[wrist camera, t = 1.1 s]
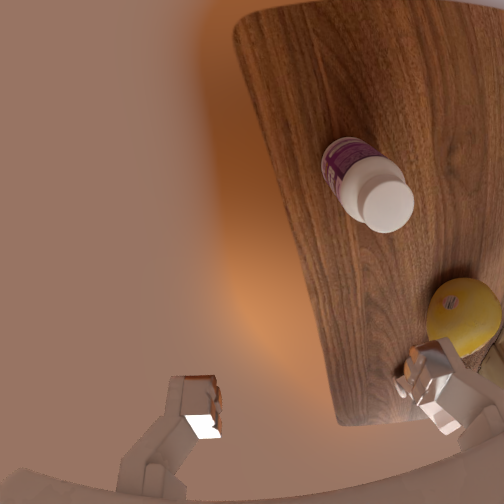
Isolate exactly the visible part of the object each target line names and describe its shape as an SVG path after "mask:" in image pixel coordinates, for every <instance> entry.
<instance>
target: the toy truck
mask: <svg viewBox="0 0 504 504" xmlns="http://www.w3.org/2000/svg"><path fill="white" fill-rule="evenodd" d="M392 379H393V382H394V385H395V387H396V389H397V391H398V393H399V394H400V396H401V397H402V398H405V397H406V392H407V393H408V394H409V395H410V396H411V397H412V399H413V396H412V394H411V391H412V386H411V385H409V384H408V383H407V381H406V379H405V375H403V376H401V377H400V378H397V377H396V376H394V377H393V378H392ZM405 391H406V392H405ZM413 400H414V399H413ZM420 407H421V409H422V410H423V411H424V412H425V413H426V414H427V415H428V416H429V418H430V419H431V420H432V421H433V422H434V423H435V424H436V425H437V427H438V429H439V430H440V431H441V432H442V433H444V434H445V435H447V434H449V433H451V432H453V431H454V430H456V429H457V428H459V427H461V424H460V423H459V422H458V421H457V420H455V419H454V418H453V417H452V416H451V415H450V414H449V413H447V412H446V411H445V410H444V409H443V408H442V407H440V406H439V405H438V404H437V403H436V401H434V402H430V403H427V404H423V405H420Z"/></svg>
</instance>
